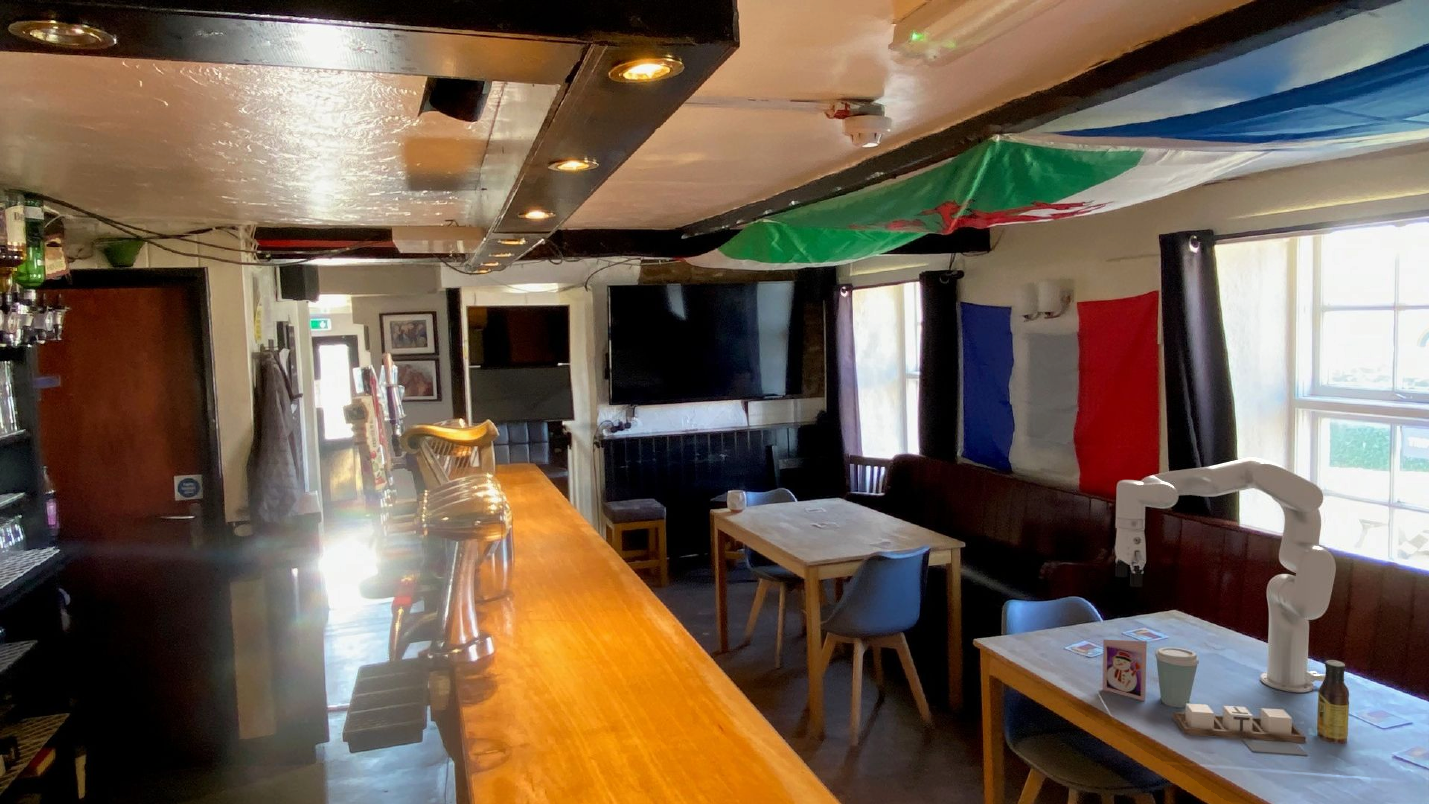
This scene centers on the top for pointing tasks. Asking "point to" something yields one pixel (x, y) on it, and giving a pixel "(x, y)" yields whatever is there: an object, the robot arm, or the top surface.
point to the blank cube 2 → (1275, 721)
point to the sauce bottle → (1333, 704)
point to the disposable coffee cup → (1176, 675)
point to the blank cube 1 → (1199, 716)
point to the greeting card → (1125, 667)
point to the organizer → (1223, 732)
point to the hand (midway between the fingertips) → (1128, 581)
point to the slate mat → (1274, 747)
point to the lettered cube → (1237, 718)
